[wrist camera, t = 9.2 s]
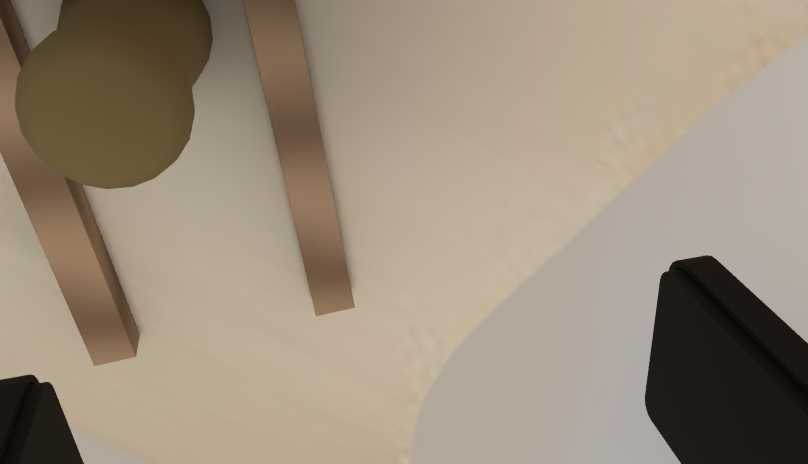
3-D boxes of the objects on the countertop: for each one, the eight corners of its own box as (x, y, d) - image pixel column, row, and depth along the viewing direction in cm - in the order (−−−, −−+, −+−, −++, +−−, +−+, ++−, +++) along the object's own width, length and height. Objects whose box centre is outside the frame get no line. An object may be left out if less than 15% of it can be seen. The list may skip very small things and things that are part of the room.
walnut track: (-90, -101, 27) (-135, -89, 24) (262, -155, 29) (267, -150, 25) (99, 343, 38) (87, 396, 35) (349, 288, 40) (361, 333, 36)
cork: (28, 37, 31) (-59, 138, 21) (118, -78, 29) (67, -26, 20) (155, 128, 33) (127, 252, 24) (242, 26, 32) (248, 115, 23)
